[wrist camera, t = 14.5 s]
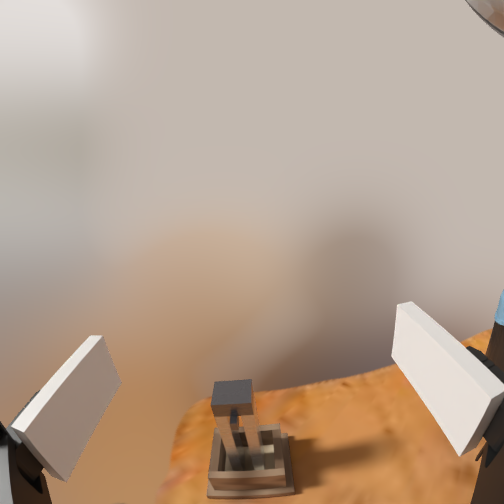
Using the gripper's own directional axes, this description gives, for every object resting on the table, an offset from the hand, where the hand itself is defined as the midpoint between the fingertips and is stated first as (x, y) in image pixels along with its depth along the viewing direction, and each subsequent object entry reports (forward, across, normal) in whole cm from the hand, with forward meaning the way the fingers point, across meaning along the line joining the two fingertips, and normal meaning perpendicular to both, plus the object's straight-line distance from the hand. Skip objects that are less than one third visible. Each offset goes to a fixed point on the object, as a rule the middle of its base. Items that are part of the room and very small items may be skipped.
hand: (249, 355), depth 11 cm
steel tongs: (+15, -4, -31) cm, 34 cm away
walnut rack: (+15, -4, -32) cm, 35 cm away
